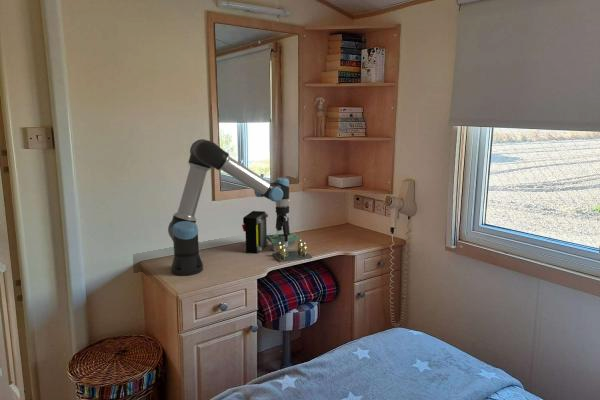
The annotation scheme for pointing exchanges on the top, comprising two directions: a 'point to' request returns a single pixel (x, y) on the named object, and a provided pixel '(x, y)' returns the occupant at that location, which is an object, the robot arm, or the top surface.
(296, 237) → the board
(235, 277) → the top surface
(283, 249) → the chassis
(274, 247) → the foam block
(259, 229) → the electrical component
